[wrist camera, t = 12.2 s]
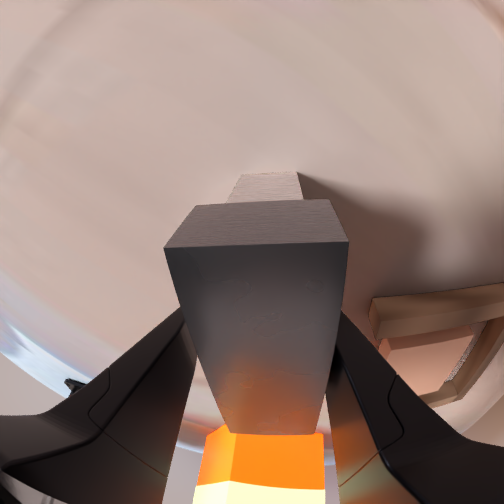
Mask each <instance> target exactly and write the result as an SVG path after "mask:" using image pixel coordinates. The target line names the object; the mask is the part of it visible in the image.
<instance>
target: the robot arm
mask: <svg viewBox="0 0 504 504" xmlns="http://www.w3.org/2000/svg"><path fill="white" fill-rule="evenodd" d="M196 360H197V353H196V350H195V347H194V344H193V342H192V339H191V336H190V333H189V330H188V327H187V324H186V321H185V318H184V315H183V312H182V309H181V306H180V307H179V308H178V309H177V310H176V311H174V312H173V313H172V314H171V315H170V316H168V317H167V318H166V319H165V320H164V321H163V322H161V323H160V324H159V325H158V326H157V327H155V328H154V329H153V330H152V331H151V332H149V333H148V334H147V335H146V336H145V337H143V338H142V339H141V340H140V341H139V342H137V343H136V344H135V345H134V346H133V347H131V348H130V349H129V350H128V351H127V352H125V353H124V354H123V355H122V356H121V357H120V358H118V359H117V360H116V361H115V362H114V363H112V364H111V365H110V366H109V368H106V369H105V370H104V371H103V372H102V373H100V374H99V375H98V376H97V377H95V378H94V379H93V380H92V381H90V382H89V383H88V384H86V385H83V384H80V383H77V382H74V381H71V380H68V379H66V380H65V381H64V383H65V384H66V385H67V386H68V387H69V389H70V390H71V393H70V395H69V397H68V398H67V399H65V400H64V401H62V402H61V403H59V404H58V405H56V406H55V407H53V408H52V409H50V410H49V411H46V412H44V413H41V414H37V415H22V416H2V415H0V504H162V500H163V496H164V492H165V487H166V483H167V477H168V474H169V470H170V466H171V461H172V457H173V453H174V449H175V445H176V441H177V437H178V433H179V429H180V425H181V421H182V417H183V413H184V410H185V406H186V402H187V398H188V394H189V391H190V387H191V383H192V379H193V376H194V371H195V366H196ZM325 394H326V400H327V407H328V413H329V419H330V426H331V433H332V440H333V447H334V454H335V462H336V470H337V479H338V487H339V497H340V504H504V447H501V446H496V445H490V444H485V443H481V442H476V441H472V440H470V439H468V438H466V437H464V436H462V435H461V434H459V433H458V432H457V431H456V430H454V429H453V428H452V427H451V426H450V425H449V424H448V423H447V422H446V421H444V420H443V419H442V418H441V417H440V416H439V415H438V414H437V413H436V412H435V411H434V410H432V409H431V408H430V407H429V406H428V405H427V404H426V403H425V402H424V401H423V400H422V399H421V398H420V397H419V396H418V395H417V394H416V393H415V392H414V391H413V390H412V389H411V388H410V387H409V386H408V384H407V383H406V382H405V381H404V380H403V379H402V378H401V376H400V375H399V374H397V372H396V371H395V370H394V369H393V367H392V366H391V365H390V364H389V363H388V362H387V361H386V359H385V358H384V357H383V356H382V355H381V354H380V353H379V352H378V350H377V349H376V348H375V347H374V346H373V345H372V344H371V343H370V341H369V340H368V339H367V338H366V337H365V336H364V335H363V334H362V333H361V331H360V330H359V329H358V328H357V327H356V326H355V325H354V324H353V323H352V322H351V320H350V319H349V318H348V317H347V316H346V315H345V314H344V313H343V312H342V311H341V313H340V319H339V325H338V331H337V337H336V343H335V348H334V353H333V358H332V363H331V368H330V373H329V377H328V382H327V386H326V391H325Z"/></svg>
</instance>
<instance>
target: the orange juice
mask: <svg viewBox="0 0 504 504" xmlns="http://www.w3.org/2000/svg"><path fill="white" fill-rule="evenodd" d="M193 504H325V490H324V447H323V434H319V433H314V435H248V434H233V433H230V432H229V430H228V428H227V426H226V424H225V425H223V426H222V427H220V428H219V429H217V430H216V431H214V432H213V433H211V434H209V435H208V436H207V438H206V443H205V448H204V453H203V458H202V463H201V468H200V472H199V477H198V482H197V486H196V490H195V495H194V500H193Z"/></svg>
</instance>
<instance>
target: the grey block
mask: <svg viewBox="0 0 504 504" xmlns="http://www.w3.org/2000/svg"><path fill="white" fill-rule="evenodd" d="M348 247H349V240H348V238H347V236H346V234H345V232H344V230H343V227H342V225H341V223H340V221H339V219H338V217H337V215H336V213H335V211H334V209H333V207H332V205H331V203H330V201H329V199H310V200H304V199H303V195H302V191H301V187H300V184H299V180H298V176H297V172H280V173H261V174H246V175H241V176H240V178H239V180H238V181H237V183H236V185H235V187H234V189H233V190H232V192H231V194H230V196H229V198H228V200H227V201H226V203H224V204H211V205H198V206H195V207H194V208H193V210H192V211H191V212H190V214H189V215H188V216H187V217H186V219H185V220H184V221H183V223H182V224H181V225H180V226H179V228H178V229H177V230H176V232H175V233H174V234H173V236H172V237H171V238H170V240H169V241H168V242H167V244H166V245H165V246H164V252H165V256H166V259H167V263H168V267H169V270H170V274H171V277H172V280H173V284H174V287H175V290H176V293H177V297H178V300H179V303H180V306H181V309H182V312H183V315H184V318H185V321H186V324H187V327H188V330H189V333H190V336H191V339H192V342H193V344H194V347H195V350H196V353H197V355H198V358H199V361H200V363H201V366H202V368H203V371H204V374H205V376H206V379H207V381H208V384H209V386H210V389H211V391H212V393H213V396H214V398H215V401H216V403H217V405H218V408H219V410H220V412H221V415H222V417H223V419H224V421H225V423H226V426H227V428H228V430H229V432H230V433H233V434H248V435H314V433H315V429H316V426H317V422H318V418H319V415H320V411H321V407H322V403H323V399H324V395H325V391H326V386H327V382H328V377H329V373H330V368H331V363H332V358H333V353H334V348H335V343H336V337H337V331H338V325H339V319H340V313H341V306H342V299H343V292H344V284H345V276H346V267H347V257H348Z"/></svg>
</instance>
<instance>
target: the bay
mask: <svg viewBox="0 0 504 504" xmlns="http://www.w3.org/2000/svg"><path fill="white" fill-rule="evenodd" d="M368 317H369V320H370V323H371V326H372V329H373V333H374V336H375V339H376V340H377V339H386V338H394V337H401V336H409V335H415V334H422V333H428V332H434V331H439V330H444V329H450V328H455V327H460V326H464V325H469V324H473V323H478V322H482V321H486V320H489V321H488V323H487V325H486V327H485V329H484V331H483V332H482V334H481V336H480V338H479V339H478V341H477V343H476V345H475V346H474V348H473V350H472V351H471V353H470V354H469V356H468V358H467V359H466V361H465V362H464V364H463V365H462V367H461V368H460V370H459V371H458V373H457V374H456V376H455V377H454V378H453V380H451V381H448V382H444V383H443V385H442V386H441V387H440V389H439V390H438V391H435V392H431V393H427V394H423V395H419V397H420V398H421V399H422V400H423V401H424V402H425V403H426V404H427V405H428V406H429V407H430V408H431V409H432V408H435V407H439V406H442V405H445V404H448V403H451V402H454V401H457V400H460V399H462V398H463V397H464V396H465V395H466V393H467V392H468V391H469V390H470V389H471V387H472V386H473V385H474V384H475V382H476V381H477V380H478V378H479V377H480V376H481V375H482V373H483V372H484V370H485V369H486V368H487V366H488V365H489V363H490V362H491V361H492V359H493V358H494V356H495V355H496V353H497V352H498V350H499V349H500V347H501V345H502V344H503V342H504V283H498V284H492V285H486V286H479V287H472V288H465V289H457V290H449V291H441V292H432V293H423V294H413V295H402V296H391V297H379V298H372V303H371V307H370V311H369V316H368Z"/></svg>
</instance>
